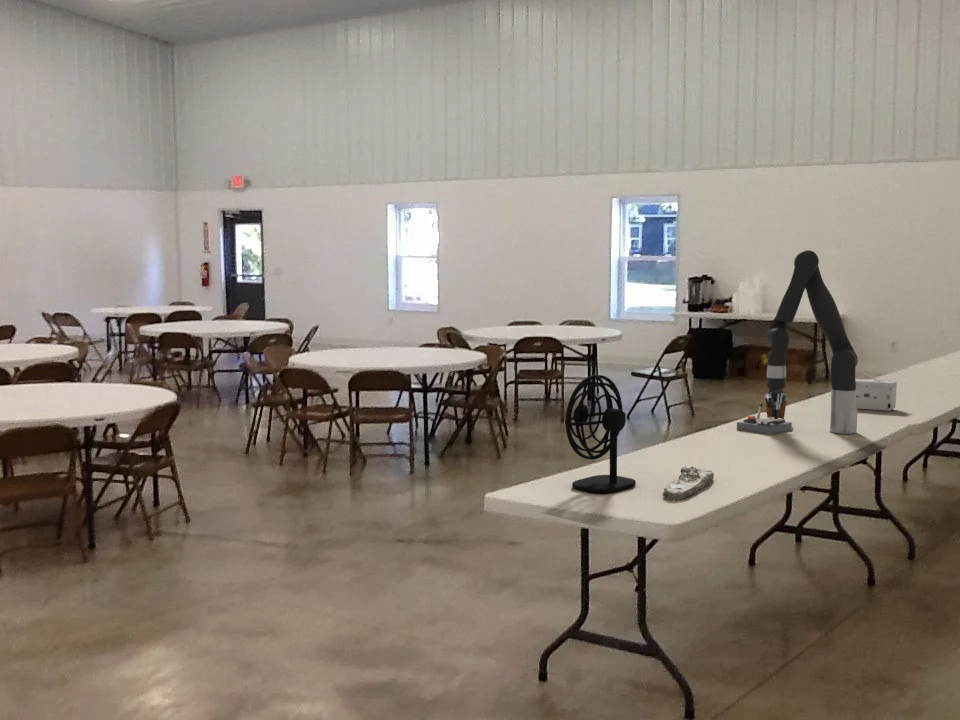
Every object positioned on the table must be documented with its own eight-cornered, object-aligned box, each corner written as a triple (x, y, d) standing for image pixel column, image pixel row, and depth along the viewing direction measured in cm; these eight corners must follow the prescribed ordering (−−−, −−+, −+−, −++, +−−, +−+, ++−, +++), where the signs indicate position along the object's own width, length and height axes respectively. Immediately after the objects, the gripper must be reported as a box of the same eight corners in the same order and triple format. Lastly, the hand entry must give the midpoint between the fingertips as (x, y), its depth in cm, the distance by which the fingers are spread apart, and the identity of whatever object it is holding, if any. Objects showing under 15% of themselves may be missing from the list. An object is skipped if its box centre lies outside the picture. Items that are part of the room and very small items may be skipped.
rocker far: (774, 420, 409) (773, 416, 409) (769, 421, 406) (769, 418, 406) (761, 422, 413) (761, 418, 413) (756, 423, 411) (756, 419, 411)
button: (756, 418, 416) (756, 416, 415) (752, 419, 413) (752, 416, 413) (750, 418, 418) (750, 415, 418) (746, 419, 416) (746, 416, 416)
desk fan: (607, 474, 337) (607, 369, 333) (650, 483, 324) (651, 374, 320) (552, 488, 318) (552, 377, 314) (596, 498, 306) (597, 382, 302)
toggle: (760, 419, 423) (764, 403, 423) (758, 418, 422) (762, 402, 422) (757, 418, 424) (760, 403, 425) (755, 418, 423) (758, 402, 424)
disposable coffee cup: (789, 424, 426) (790, 396, 424) (767, 425, 426) (767, 396, 424) (783, 421, 435) (784, 393, 434) (761, 421, 435) (761, 393, 434)
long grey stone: (654, 503, 305) (686, 509, 301) (654, 487, 304) (687, 492, 300) (690, 474, 335) (720, 478, 331) (690, 458, 334) (720, 463, 330)
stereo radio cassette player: (896, 409, 462) (897, 365, 460) (892, 412, 455) (894, 367, 453) (848, 406, 473) (849, 363, 471) (844, 408, 466) (845, 365, 464)
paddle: (782, 421, 415) (782, 418, 415) (777, 422, 412) (777, 419, 412) (773, 420, 418) (773, 417, 418) (768, 421, 415) (768, 418, 415)
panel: (791, 429, 414) (791, 419, 414) (771, 434, 404) (771, 423, 404) (756, 424, 426) (757, 414, 426) (736, 429, 416) (736, 418, 415)
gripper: (775, 378, 406) (774, 421, 408) (793, 375, 415) (792, 417, 417) (759, 377, 411) (758, 419, 413) (776, 374, 420) (775, 415, 422)
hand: (775, 418), depth 415 cm, fingers closed
